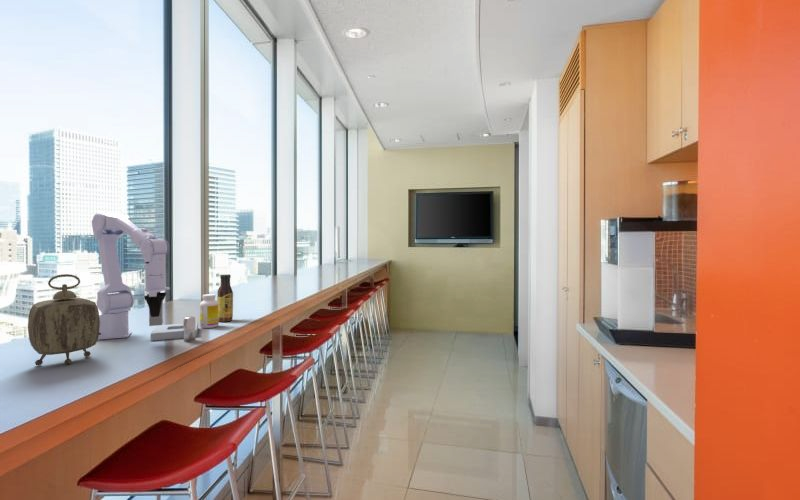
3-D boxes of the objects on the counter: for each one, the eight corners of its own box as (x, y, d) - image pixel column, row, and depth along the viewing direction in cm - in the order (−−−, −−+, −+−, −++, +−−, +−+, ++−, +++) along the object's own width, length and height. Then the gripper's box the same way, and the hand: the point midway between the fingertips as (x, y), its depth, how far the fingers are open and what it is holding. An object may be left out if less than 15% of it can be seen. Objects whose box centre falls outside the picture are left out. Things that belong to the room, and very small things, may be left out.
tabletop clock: (93, 354, 120) (92, 272, 120) (102, 360, 115) (100, 273, 114) (28, 366, 109) (26, 275, 108) (34, 373, 103) (32, 277, 103)
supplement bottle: (221, 325, 162) (221, 293, 161) (212, 328, 155) (212, 296, 155) (206, 324, 162) (206, 293, 162) (196, 328, 156) (196, 295, 155)
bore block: (150, 340, 137) (150, 333, 137) (156, 332, 149) (156, 325, 149) (196, 336, 143) (196, 329, 143) (198, 328, 155) (197, 322, 155)
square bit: (149, 325, 131) (149, 301, 131) (150, 323, 134) (150, 300, 134) (161, 325, 132) (161, 301, 132) (163, 323, 136) (163, 299, 135)
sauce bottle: (226, 322, 167) (226, 275, 166) (213, 322, 168) (213, 275, 167) (236, 319, 173) (236, 274, 172) (223, 319, 174) (223, 273, 174)
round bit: (183, 342, 135) (183, 318, 135) (183, 339, 138) (183, 317, 138) (195, 341, 136) (194, 318, 136) (195, 338, 140) (195, 316, 139)
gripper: (166, 276, 128) (167, 318, 128) (171, 272, 141) (171, 311, 141) (141, 277, 125) (141, 320, 125) (148, 273, 138) (148, 312, 138)
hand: (155, 315), depth 133 cm, fingers closed on square bit, 4 cm apart
